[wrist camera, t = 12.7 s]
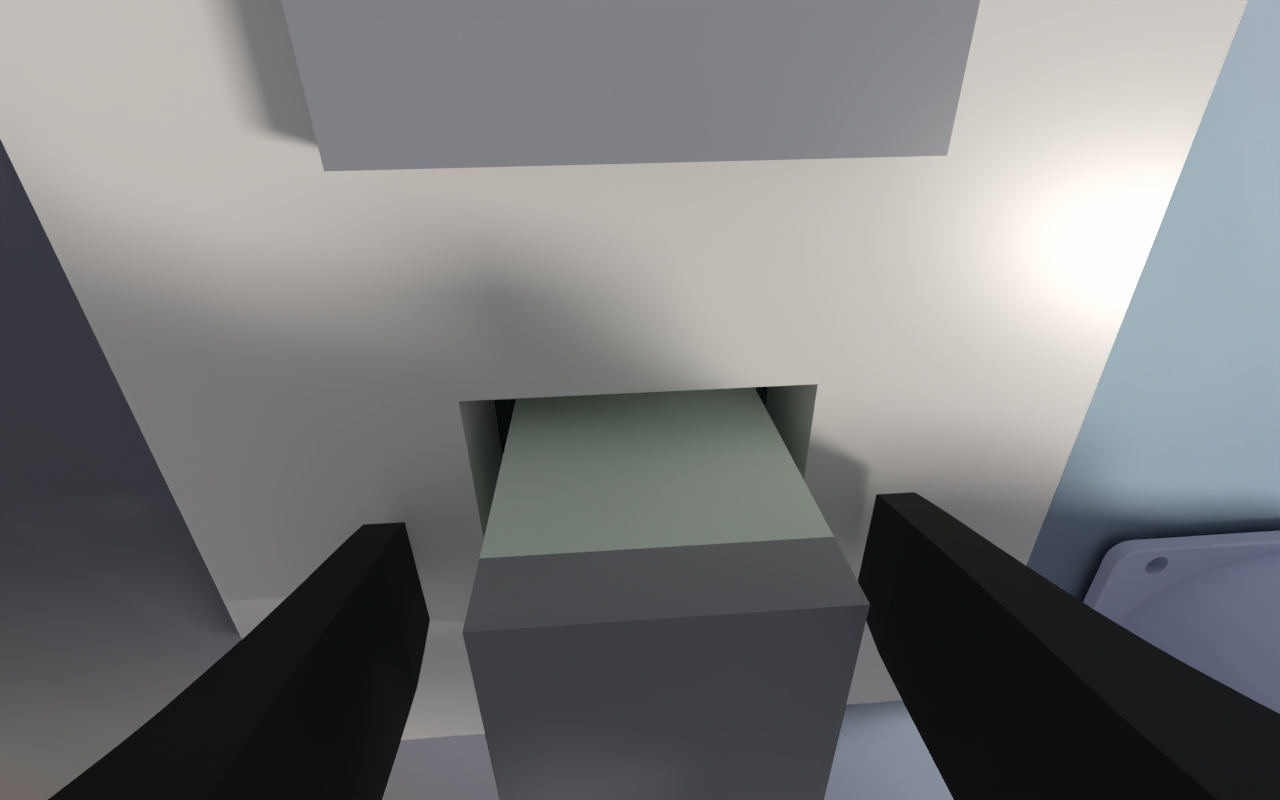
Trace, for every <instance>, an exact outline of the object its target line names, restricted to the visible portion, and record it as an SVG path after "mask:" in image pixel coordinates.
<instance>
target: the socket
mask: <svg viewBox="0 0 1280 800" xmlns="http://www.w3.org/2000/svg"><path fill="white" fill-rule="evenodd" d="M1247 2H1248V0H980V4H979V8H978V13H977V18H976V22H975V27H974V32H973V36H972V41H971V46H970V50H969V55H968V60H967V64H966V69H965V74H964V78H963V83H962V88H961V92H960V97H959V102H958V107H957V111H956V116H955V121H954V125H953V130H952V135H951V139H950V144H949V149H948V153H947V156H912V157H872V158H832V159H793V160H753V161H714V162H674V163H635V164H595V165H556V166H516V167H477V168H437V169H398V170H358V171H324V169H323V165H322V161H321V157H320V153H319V149H318V145H317V141H316V137H315V133H314V129H313V125H312V121H311V117H310V113H309V109H308V105H307V101H306V97H305V93H304V89H303V85H302V81H301V77H300V73H299V69H298V65H297V61H296V57H295V53H294V49H293V45H292V41H291V37H290V33H289V29H288V25H287V21H286V17H285V14H284V10H283V6H282V2H281V0H0V139H1V141H2V144H3V146H4V148H5V150H6V152H7V154H8V156H9V158H10V160H11V162H12V164H13V166H14V168H15V171H16V173H17V175H18V177H19V179H20V181H21V183H22V185H23V187H24V189H25V191H26V193H27V195H28V197H29V200H30V202H31V204H32V206H33V208H34V210H35V212H36V214H37V216H38V218H39V220H40V222H41V224H42V226H43V229H44V231H45V233H46V235H47V237H48V239H49V241H50V243H51V245H52V247H53V249H54V251H55V253H56V255H57V258H58V260H59V262H60V264H61V266H62V268H63V270H64V272H65V274H66V276H67V278H68V280H69V282H70V284H71V287H72V289H73V291H74V293H75V295H76V297H77V299H78V301H79V303H80V305H81V307H82V309H83V311H84V313H85V316H86V318H87V320H88V322H89V324H90V326H91V328H92V330H93V332H94V334H95V336H96V338H97V340H98V342H99V345H100V347H101V349H102V351H103V353H104V355H105V357H106V359H107V361H108V363H109V365H110V367H111V369H112V371H113V374H114V376H115V378H116V380H117V382H118V384H119V386H120V388H121V390H122V392H123V394H124V396H125V398H126V401H127V403H128V405H129V407H130V409H131V411H132V413H133V415H134V417H135V419H136V421H137V423H138V425H139V427H140V430H141V432H142V434H143V436H144V438H145V440H146V442H147V444H148V446H149V448H150V450H151V452H152V454H153V456H154V459H155V461H156V463H157V465H158V467H159V469H160V471H161V473H162V475H163V477H164V479H165V481H166V483H167V485H168V488H169V490H170V492H171V494H172V496H173V498H174V500H175V502H176V504H177V506H178V508H179V510H180V512H181V514H182V517H183V519H184V521H185V523H186V525H187V527H188V529H189V531H190V533H191V535H192V537H193V539H194V541H195V543H196V546H197V548H198V550H199V552H200V554H201V556H202V558H203V560H204V562H205V564H206V566H207V568H208V570H209V572H210V575H211V577H212V579H213V581H214V583H215V585H216V587H217V589H218V591H219V593H220V595H221V597H222V599H223V601H224V604H225V606H226V608H227V610H228V612H229V614H230V616H231V618H232V620H233V622H234V624H235V626H236V628H237V631H238V633H239V635H240V637H241V639H243V638H244V637H245V636H247V635H248V634H249V633H250V632H251V631H252V630H253V629H254V628H255V627H256V626H257V625H258V624H259V623H260V622H261V621H262V620H264V619H265V618H266V617H267V616H268V615H269V614H270V613H271V612H272V611H273V610H274V609H275V608H276V607H277V606H278V605H279V604H280V603H282V602H283V601H284V600H285V599H286V598H287V597H288V596H289V595H290V594H291V593H292V592H293V591H294V590H295V589H296V588H297V587H298V586H299V585H300V584H301V583H303V582H304V581H305V580H306V579H307V578H308V577H309V576H310V575H311V574H312V573H313V572H314V571H315V570H316V569H317V568H318V567H319V566H320V565H321V564H322V563H323V562H324V561H325V560H326V559H327V558H328V557H329V556H330V555H331V554H332V553H333V552H334V551H335V550H336V549H337V548H339V547H340V546H341V545H342V544H343V543H344V542H345V541H346V540H347V539H348V538H349V537H350V536H351V535H352V534H353V533H354V532H355V531H357V530H358V529H359V528H360V527H361V526H362V525H364V524H381V523H398V522H405V525H406V529H407V533H408V537H409V541H410V544H411V548H412V552H413V556H414V560H415V564H416V568H417V571H418V575H419V579H420V583H421V587H422V591H423V595H424V598H425V602H426V606H427V610H428V614H429V618H430V622H429V628H428V633H427V639H426V645H425V650H424V656H423V661H422V666H421V671H420V676H419V681H418V686H417V689H416V693H415V696H414V699H413V703H412V706H411V709H410V712H409V715H408V719H407V722H406V725H405V728H404V732H403V735H402V738H401V740H410V739H423V738H436V737H448V736H461V735H473V734H485V732H484V727H483V723H482V718H481V714H480V709H479V705H478V700H477V696H476V691H475V687H474V682H473V678H472V673H471V669H470V664H469V660H468V655H467V651H466V646H465V642H464V637H463V633H462V632H463V628H464V623H465V619H466V615H467V610H468V606H469V601H470V597H471V593H472V588H473V584H474V580H475V575H476V571H477V567H478V562H479V558H480V554H481V549H482V545H483V541H484V536H485V532H486V527H487V523H488V519H489V514H490V510H491V506H492V501H493V497H494V493H495V488H496V484H497V480H498V475H499V471H500V467H501V462H502V458H503V456H502V449H501V443H500V436H499V429H498V422H497V416H496V409H495V402H494V400H496V399H517V398H538V397H559V396H580V395H601V394H622V393H644V392H665V391H686V390H707V389H728V388H749V387H767V398H766V410H767V412H768V414H769V415H770V417H771V419H772V421H773V423H774V425H775V427H776V429H777V431H778V432H779V434H780V436H781V438H782V440H783V442H784V444H785V446H786V447H787V449H788V451H789V453H790V455H791V457H792V459H793V461H794V462H795V464H796V466H797V468H798V470H799V472H800V474H801V476H802V478H803V479H804V481H805V483H806V485H807V487H808V489H809V491H810V493H811V494H812V496H813V498H814V500H815V502H816V504H817V506H818V508H819V509H820V511H821V513H822V515H823V517H824V519H825V521H826V523H827V525H828V526H829V528H830V530H831V532H832V534H833V536H834V538H835V540H836V541H837V543H838V545H839V547H840V549H841V551H842V553H843V555H844V556H845V558H846V560H847V562H848V564H849V566H850V568H851V570H852V572H853V573H854V575H855V577H856V579H857V581H858V577H859V573H860V568H861V564H862V559H863V554H864V550H865V545H866V540H867V536H868V531H869V527H870V522H871V517H872V513H873V508H874V503H875V499H876V494H892V493H909V492H915V493H917V494H918V495H920V496H922V497H923V498H925V499H927V500H928V501H930V502H932V503H933V504H935V505H936V506H938V507H939V508H941V509H942V510H944V511H945V512H947V513H948V514H950V515H951V516H953V517H954V518H956V519H957V520H959V521H960V522H962V523H963V524H965V525H966V526H968V527H969V528H971V529H972V530H974V531H975V532H977V533H978V534H980V535H981V536H983V537H984V538H986V539H987V540H988V541H990V542H991V543H993V544H994V545H996V546H997V547H999V548H1000V549H1002V550H1003V551H1005V552H1006V553H1008V554H1009V555H1011V556H1012V557H1014V558H1015V559H1017V560H1018V561H1020V562H1021V563H1023V564H1024V565H1027V563H1028V560H1029V558H1030V555H1031V553H1032V550H1033V548H1034V545H1035V543H1036V540H1037V537H1038V535H1039V532H1040V530H1041V527H1042V525H1043V522H1044V520H1045V517H1046V514H1047V512H1048V509H1049V507H1050V504H1051V502H1052V499H1053V497H1054V494H1055V492H1056V489H1057V486H1058V484H1059V481H1060V479H1061V476H1062V474H1063V471H1064V469H1065V466H1066V463H1067V461H1068V458H1069V456H1070V453H1071V451H1072V448H1073V446H1074V443H1075V441H1076V438H1077V435H1078V433H1079V430H1080V428H1081V425H1082V423H1083V420H1084V418H1085V415H1086V412H1087V410H1088V407H1089V405H1090V402H1091V400H1092V397H1093V395H1094V392H1095V390H1096V387H1097V384H1098V382H1099V379H1100V377H1101V374H1102V372H1103V369H1104V367H1105V364H1106V361H1107V359H1108V356H1109V354H1110V351H1111V349H1112V346H1113V344H1114V341H1115V339H1116V336H1117V333H1118V331H1119V328H1120V326H1121V323H1122V321H1123V318H1124V316H1125V313H1126V311H1127V308H1128V305H1129V303H1130V300H1131V298H1132V295H1133V293H1134V290H1135V288H1136V285H1137V282H1138V280H1139V277H1140V275H1141V272H1142V270H1143V267H1144V265H1145V262H1146V260H1147V257H1148V254H1149V252H1150V249H1151V247H1152V244H1153V242H1154V239H1155V237H1156V234H1157V231H1158V229H1159V226H1160V224H1161V221H1162V219H1163V216H1164V214H1165V211H1166V209H1167V206H1168V203H1169V201H1170V198H1171V196H1172V193H1173V191H1174V188H1175V186H1176V183H1177V180H1178V178H1179V175H1180V173H1181V170H1182V168H1183V165H1184V163H1185V160H1186V158H1187V155H1188V152H1189V150H1190V147H1191V145H1192V142H1193V140H1194V137H1195V135H1196V132H1197V129H1198V127H1199V124H1200V122H1201V119H1202V117H1203V114H1204V112H1205V109H1206V107H1207V104H1208V101H1209V99H1210V96H1211V94H1212V91H1213V89H1214V86H1215V84H1216V81H1217V78H1218V76H1219V73H1220V71H1221V68H1222V66H1223V63H1224V61H1225V58H1226V56H1227V53H1228V50H1229V48H1230V45H1231V43H1232V40H1233V38H1234V35H1235V33H1236V30H1237V28H1238V25H1239V22H1240V20H1241V17H1242V15H1243V12H1244V10H1245V7H1246V5H1247ZM890 701H902V698H901V696H900V694H899V693H898V691H897V689H896V687H895V685H894V683H893V681H892V679H891V677H890V675H889V673H888V671H887V669H886V667H885V665H884V663H883V661H882V659H881V657H880V655H879V653H878V650H877V648H876V645H875V642H874V640H873V637H872V635H871V632H870V629H869V627H868V624H867V621H866V623H865V628H864V632H863V636H862V640H861V645H860V649H859V653H858V657H857V661H856V666H855V670H854V674H853V678H852V682H851V687H850V691H849V695H848V699H847V703H846V705H852V704H864V703H877V702H890Z"/></svg>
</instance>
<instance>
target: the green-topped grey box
mask: <svg viewBox="0 0 1280 800" xmlns="http://www.w3.org/2000/svg"><path fill="white" fill-rule="evenodd" d="M869 607H870V603H869V602H868V600H867V598H866V596H865V594H864V592H863V590H862V588H861V587H860V585H859V583H858V581H857V579H856V577H855V575H854V573H853V572H852V570H851V568H850V566H849V564H848V562H847V560H846V558H845V556H844V555H843V553H842V551H841V549H840V547H839V545H838V543H837V541H836V540H835V538H834V536H833V534H832V532H831V530H830V528H829V526H828V525H827V523H826V521H825V519H824V517H823V515H822V513H821V511H820V509H819V508H818V506H817V504H816V502H815V500H814V498H813V496H812V494H811V493H810V491H809V489H808V487H807V485H806V483H805V481H804V479H803V478H802V476H801V474H800V472H799V470H798V468H797V466H796V464H795V462H794V461H793V459H792V457H791V455H790V453H789V451H788V449H787V447H786V446H785V444H784V442H783V440H782V438H781V436H780V434H779V432H778V431H777V429H776V427H775V425H774V423H773V421H772V419H771V417H770V415H769V414H768V412H767V410H766V408H765V406H764V404H763V402H762V400H761V399H760V397H759V395H758V393H757V391H756V389H755V387H749V388H728V389H707V390H686V391H665V392H644V393H622V394H601V395H580V396H559V397H538V398H517V399H516V401H515V406H514V410H513V414H512V419H511V423H510V427H509V432H508V436H507V440H506V445H505V449H504V454H503V458H502V462H501V467H500V471H499V475H498V480H497V484H496V488H495V493H494V497H493V501H492V506H491V510H490V514H489V519H488V523H487V527H486V532H485V536H484V541H483V545H482V549H481V554H480V558H479V562H478V567H477V571H476V575H475V580H474V584H473V588H472V593H471V597H470V601H469V606H468V610H467V615H466V619H465V623H464V628H463V632H462V633H463V637H464V642H465V646H466V651H467V655H468V660H469V664H470V669H471V673H472V678H473V682H474V687H475V691H476V696H477V700H478V705H479V709H480V714H481V718H482V723H483V727H484V732H485V736H486V740H487V745H488V749H489V754H490V758H491V763H492V767H493V772H494V776H495V781H496V785H497V790H498V794H499V799H500V800H824V796H825V792H826V788H827V783H828V779H829V775H830V771H831V767H832V762H833V758H834V754H835V750H836V746H837V741H838V737H839V733H840V729H841V725H842V720H843V716H844V712H845V708H846V703H847V699H848V695H849V691H850V687H851V682H852V678H853V674H854V670H855V666H856V661H857V657H858V653H859V649H860V645H861V640H862V636H863V632H864V628H865V623H866V619H867V615H868V611H869Z"/></svg>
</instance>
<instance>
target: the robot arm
mask: <svg viewBox="0 0 1280 800" xmlns="http://www.w3.org/2000/svg"><path fill="white" fill-rule="evenodd" d="M858 583H859V585H860V587H861V588H862V590H863V592H864V594H865V596H866V598H867V600H868V602H869V603H870V607H869V611H868V615H867V619H866V621H867V624H868V627H869V629H870V632H871V635H872V637H873V640H874V642H875V645H876V648H877V650H878V653H879V655H880V657H881V659H882V661H883V663H884V665H885V667H886V669H887V671H888V673H889V675H890V677H891V679H892V681H893V683H894V685H895V687H896V689H897V691H898V693H899V694H900V696H901V698H902V700H903V702H904V704H905V706H906V708H907V710H908V712H909V714H910V716H911V718H912V720H913V722H914V724H915V725H916V727H917V729H918V731H919V733H920V735H921V737H922V739H923V741H924V743H925V745H926V747H927V749H928V751H929V753H930V754H931V756H932V758H933V760H934V762H935V764H936V766H937V768H938V770H939V772H940V774H941V776H942V778H943V780H944V781H945V783H946V785H947V787H948V789H949V791H950V793H951V795H952V797H953V799H954V800H1280V531H1265V532H1249V533H1234V534H1218V535H1203V536H1188V537H1172V538H1157V539H1141V540H1129V541H1124V542H1121V543H1119V544H1117V545H1115V546H1113V547H1112V548H1111V549H1110V550H1109V551H1108V552H1107V553H1106V555H1105V556H1104V558H1103V560H1102V563H1101V565H1100V567H1099V569H1098V571H1097V573H1096V575H1095V577H1094V580H1093V582H1092V584H1091V586H1090V588H1089V590H1088V592H1087V594H1086V597H1085V599H1084V601H1083V602H1081V601H1080V600H1078V599H1077V598H1075V597H1073V596H1072V595H1070V594H1069V593H1067V592H1066V591H1064V590H1062V589H1061V588H1059V587H1058V586H1056V585H1055V584H1053V583H1052V582H1050V581H1049V580H1047V579H1045V578H1044V577H1042V576H1041V575H1039V574H1038V573H1036V572H1035V571H1033V570H1032V569H1030V568H1029V567H1027V566H1026V565H1024V564H1023V563H1021V562H1020V561H1018V560H1017V559H1015V558H1014V557H1012V556H1011V555H1009V554H1008V553H1006V552H1005V551H1003V550H1002V549H1000V548H999V547H997V546H996V545H994V544H993V543H991V542H990V541H988V540H987V539H986V538H984V537H983V536H981V535H980V534H978V533H977V532H975V531H974V530H972V529H971V528H969V527H968V526H966V525H965V524H963V523H962V522H960V521H959V520H957V519H956V518H954V517H953V516H951V515H950V514H948V513H947V512H945V511H944V510H942V509H941V508H939V507H938V506H936V505H935V504H933V503H932V502H930V501H928V500H927V499H925V498H923V497H922V496H920V495H918V494H917V493H915V492H909V493H892V494H876V499H875V503H874V508H873V513H872V517H871V522H870V527H869V531H868V536H867V540H866V545H865V550H864V554H863V559H862V564H861V568H860V573H859V577H858ZM429 622H430V618H429V614H428V610H427V606H426V602H425V598H424V595H423V591H422V587H421V583H420V579H419V575H418V571H417V568H416V564H415V560H414V556H413V552H412V548H411V544H410V541H409V537H408V533H407V529H406V525H405V522H398V523H381V524H364V525H362V526H361V527H360V528H359V529H358V530H357V531H355V532H354V533H353V534H352V535H351V536H350V537H349V538H348V539H347V540H346V541H345V542H344V543H343V544H342V545H341V546H340V547H339V548H337V549H336V550H335V551H334V552H333V553H332V554H331V555H330V556H329V557H328V558H327V559H326V560H325V561H324V562H323V563H322V564H321V565H320V566H319V567H318V568H317V569H316V570H315V571H314V572H313V573H312V574H311V575H310V576H309V577H308V578H307V579H306V580H305V581H304V582H303V583H301V584H300V585H299V586H298V587H297V588H296V589H295V590H294V591H293V592H292V593H291V594H290V595H289V596H288V597H287V598H286V599H285V600H284V601H283V602H282V603H280V604H279V605H278V606H277V607H276V608H275V609H274V610H273V611H272V612H271V613H270V614H269V615H268V616H267V617H266V618H265V619H264V620H262V621H261V622H260V623H259V624H258V625H257V626H256V627H255V628H254V629H253V630H252V631H251V632H250V633H249V634H248V635H247V636H245V637H244V638H243V639H242V640H241V641H240V642H239V643H238V644H236V645H235V646H234V647H233V648H232V649H231V650H230V651H229V652H227V653H226V654H225V655H224V656H223V657H222V658H221V659H219V660H218V661H217V662H216V663H215V664H214V665H213V666H211V667H210V668H209V669H208V670H207V671H206V672H205V673H203V674H202V675H201V676H200V677H199V678H198V679H197V680H195V681H194V682H193V683H192V684H191V685H190V686H189V687H187V688H186V689H185V690H184V691H183V692H182V693H181V694H180V695H178V696H177V697H176V698H175V699H174V700H173V701H172V702H170V703H169V704H168V705H167V706H166V707H165V708H163V709H162V710H161V711H160V712H159V713H157V714H156V715H155V716H154V717H153V718H151V719H150V720H149V721H148V722H147V723H145V724H144V725H143V726H142V727H140V728H139V729H138V730H137V731H135V732H134V733H133V734H132V735H131V736H129V737H128V738H127V739H126V740H124V741H123V742H122V743H121V744H119V745H118V746H117V747H116V748H114V749H113V750H112V751H111V752H109V753H108V754H107V755H105V756H104V757H103V758H102V759H100V760H99V761H98V762H96V763H95V764H94V765H92V766H91V767H90V768H89V769H87V770H86V771H85V772H83V773H82V774H81V775H80V776H78V777H77V778H76V779H74V780H73V781H72V782H71V783H69V784H68V785H67V786H65V787H64V788H63V789H61V790H60V791H59V792H58V793H56V794H55V795H54V796H52V797H51V798H50V799H48V800H382V798H383V795H384V792H385V788H386V785H387V782H388V779H389V776H390V773H391V770H392V766H393V763H394V760H395V757H396V754H397V751H398V748H399V744H400V741H401V738H402V735H403V732H404V728H405V725H406V722H407V719H408V715H409V712H410V709H411V706H412V703H413V699H414V696H415V693H416V689H417V686H418V681H419V676H420V671H421V666H422V661H423V656H424V650H425V645H426V639H427V633H428V628H429Z"/></svg>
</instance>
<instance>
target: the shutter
mask: <svg viewBox="0 0 1280 800" xmlns="http://www.w3.org/2000/svg"><path fill="white" fill-rule="evenodd" d="M281 2H282V6H283V10H284V14H285V17H286V21H287V25H288V29H289V33H290V37H291V41H292V45H293V49H294V53H295V57H296V61H297V65H298V69H299V73H300V77H301V81H302V85H303V89H304V93H305V97H306V101H307V105H308V109H309V113H310V117H311V121H312V125H313V129H314V133H315V137H316V141H317V145H318V149H319V153H320V157H321V161H322V165H323V169H324V171H358V170H398V169H437V168H477V167H516V166H556V165H595V164H635V163H674V162H714V161H753V160H793V159H832V158H872V157H912V156H947V153H948V149H949V144H950V139H951V135H952V130H953V125H954V121H955V116H956V111H957V107H958V102H959V97H960V92H961V88H962V83H963V78H964V74H965V69H966V64H967V60H968V55H969V50H970V46H971V41H972V36H973V32H974V27H975V22H976V18H977V13H978V8H979V4H980V0H281Z"/></svg>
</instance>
